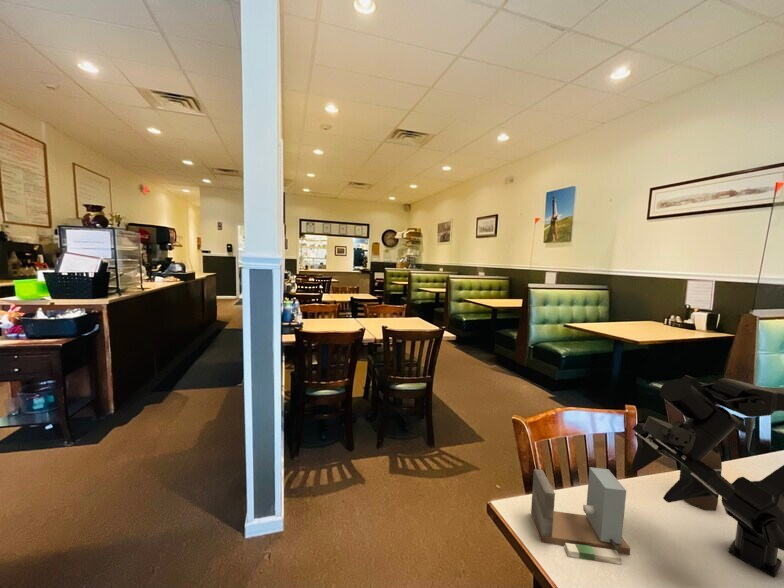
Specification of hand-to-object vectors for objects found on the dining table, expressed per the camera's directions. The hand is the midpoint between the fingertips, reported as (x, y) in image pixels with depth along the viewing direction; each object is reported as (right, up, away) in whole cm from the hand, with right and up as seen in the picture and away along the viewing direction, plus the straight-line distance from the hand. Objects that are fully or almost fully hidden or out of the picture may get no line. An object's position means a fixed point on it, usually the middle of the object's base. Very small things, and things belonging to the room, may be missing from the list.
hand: (647, 484), depth 66 cm
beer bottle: (+26, -14, +16) cm, 34 cm away
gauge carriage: (-8, -13, +3) cm, 15 cm away
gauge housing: (-12, -14, +4) cm, 19 cm away
